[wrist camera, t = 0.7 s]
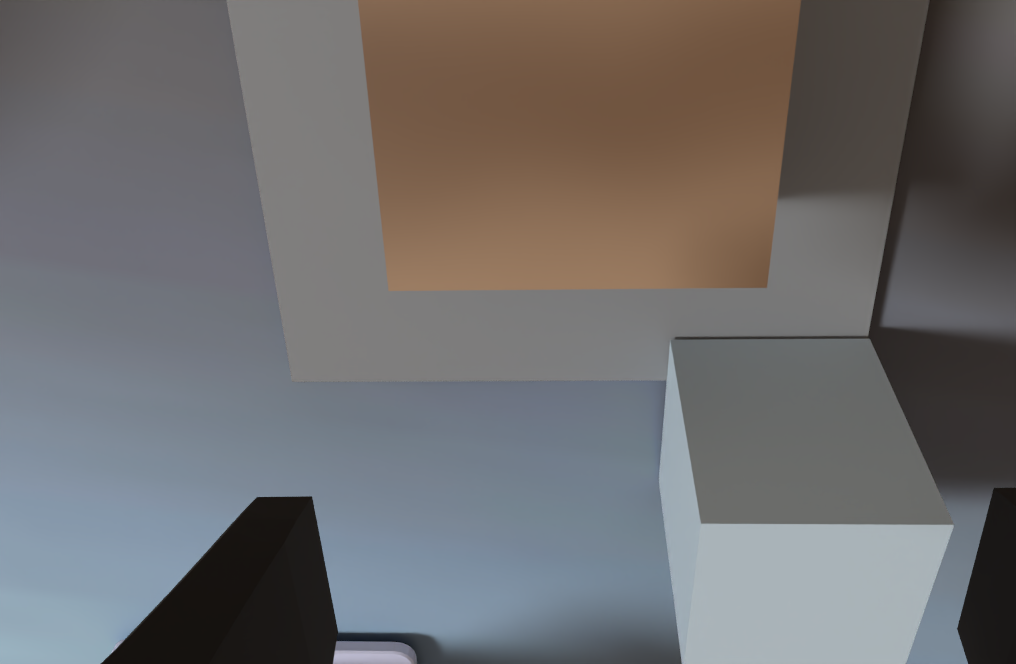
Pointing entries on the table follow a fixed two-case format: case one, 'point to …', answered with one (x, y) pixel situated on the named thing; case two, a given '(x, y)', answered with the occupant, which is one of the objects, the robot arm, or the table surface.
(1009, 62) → the table surface
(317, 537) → the robot arm
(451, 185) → the walnut block
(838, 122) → the mat
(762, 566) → the pale grey small block
